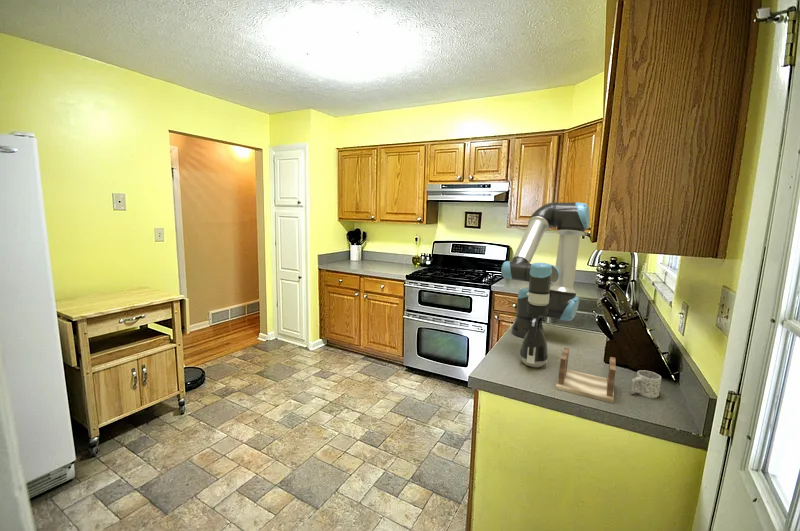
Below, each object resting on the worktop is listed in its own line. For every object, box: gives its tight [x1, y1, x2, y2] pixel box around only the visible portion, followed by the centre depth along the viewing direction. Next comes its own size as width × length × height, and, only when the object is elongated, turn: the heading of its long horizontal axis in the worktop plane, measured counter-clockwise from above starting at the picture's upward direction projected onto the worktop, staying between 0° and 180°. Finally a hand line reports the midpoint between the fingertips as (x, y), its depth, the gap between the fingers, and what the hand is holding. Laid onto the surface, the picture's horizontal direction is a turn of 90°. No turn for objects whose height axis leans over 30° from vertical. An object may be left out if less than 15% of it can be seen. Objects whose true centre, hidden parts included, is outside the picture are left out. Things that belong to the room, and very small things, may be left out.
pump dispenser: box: [519, 327, 549, 368], centre depth 139 cm, size 10×10×15 cm
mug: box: [629, 369, 662, 399], centre depth 119 cm, size 10×7×7 cm, turn 102°
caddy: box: [555, 347, 617, 404], centre depth 123 cm, size 16×17×10 cm
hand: (533, 357), depth 140 cm, fingers closed on pump dispenser, 10 cm apart
